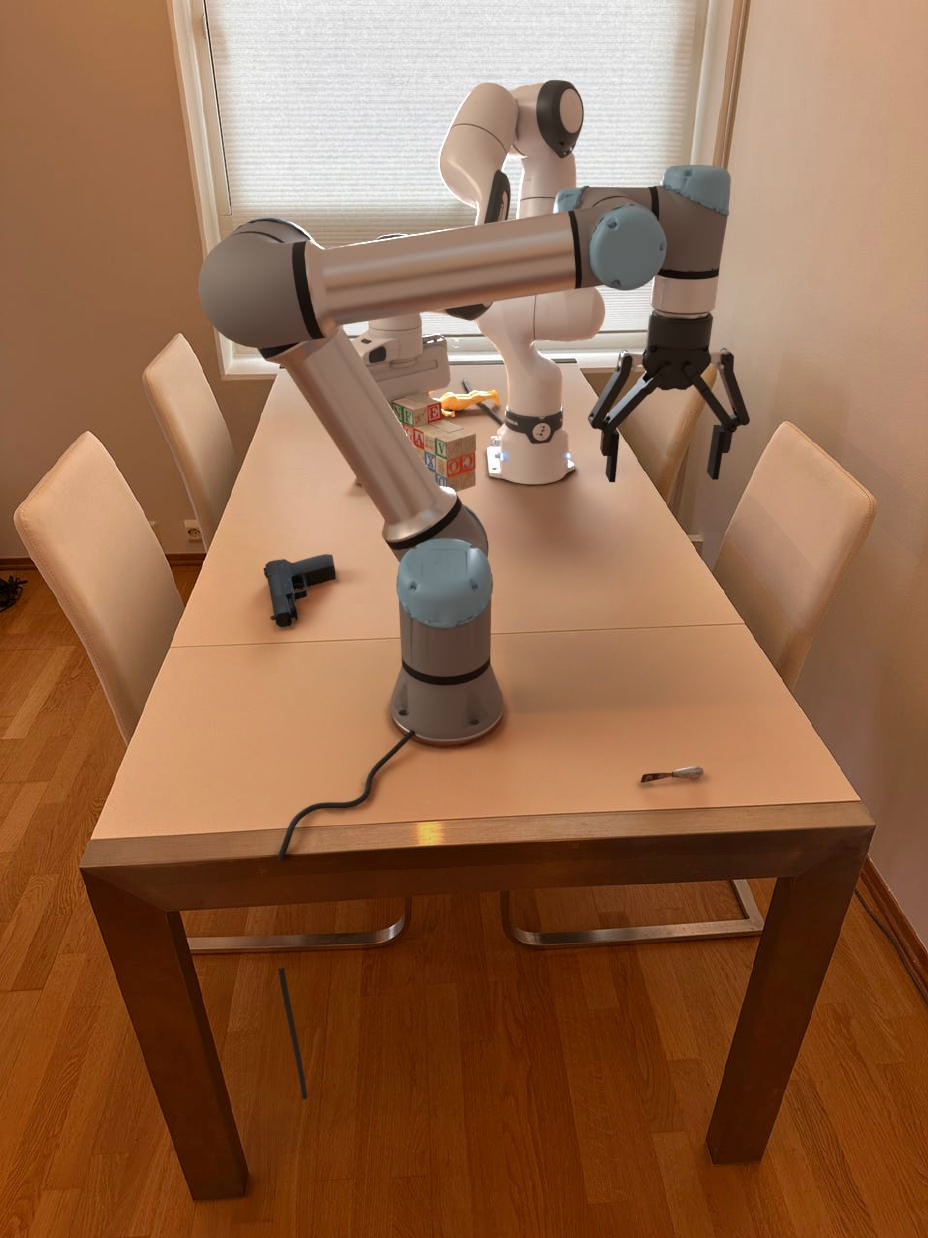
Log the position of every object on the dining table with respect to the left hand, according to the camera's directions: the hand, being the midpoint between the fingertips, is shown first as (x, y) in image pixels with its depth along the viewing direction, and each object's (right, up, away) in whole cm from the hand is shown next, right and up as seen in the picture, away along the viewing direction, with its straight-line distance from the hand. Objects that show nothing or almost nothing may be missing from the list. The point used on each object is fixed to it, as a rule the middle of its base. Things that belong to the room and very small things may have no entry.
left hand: (661, 477), depth 118 cm
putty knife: (-1, -39, -8) cm, 40 cm away
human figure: (-29, +34, +108) cm, 117 cm away
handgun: (-52, -15, +30) cm, 62 cm away
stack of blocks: (-33, +7, +37) cm, 50 cm away
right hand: (-37, +15, +38) cm, 55 cm away
